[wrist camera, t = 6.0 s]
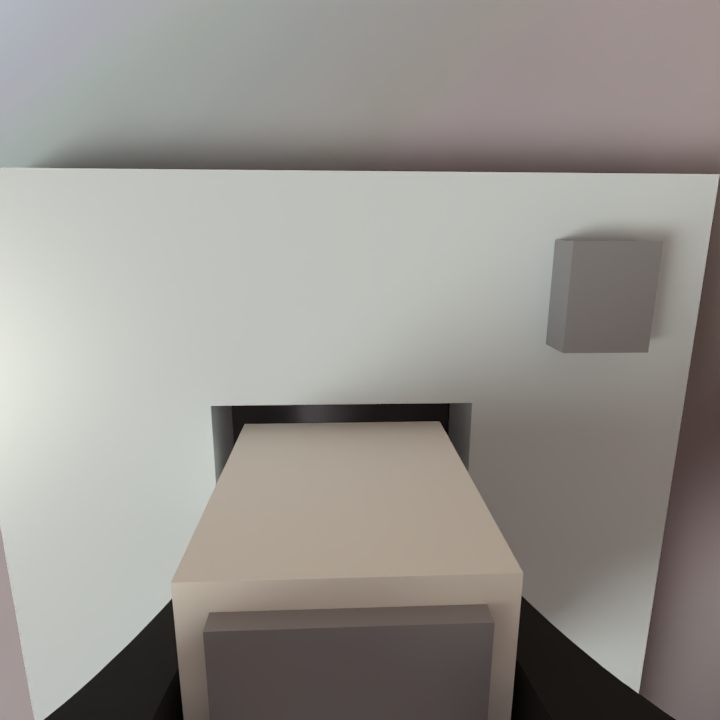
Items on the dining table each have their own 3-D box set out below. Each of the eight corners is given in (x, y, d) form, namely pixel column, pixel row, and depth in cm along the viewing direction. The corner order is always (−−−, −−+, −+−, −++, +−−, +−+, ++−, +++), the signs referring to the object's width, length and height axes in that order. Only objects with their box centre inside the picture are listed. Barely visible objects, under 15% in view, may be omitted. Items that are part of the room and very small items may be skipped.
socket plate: (582, 756, 16) (634, 867, 13) (94, 777, 15) (41, 898, 12) (656, 183, 12) (752, 169, 9) (6, 177, 11) (-100, 161, 8)
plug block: (429, 663, 12) (497, 971, 7) (257, 669, 12) (201, 990, 7) (439, 421, 11) (532, 589, 6) (244, 424, 11) (162, 600, 6)
